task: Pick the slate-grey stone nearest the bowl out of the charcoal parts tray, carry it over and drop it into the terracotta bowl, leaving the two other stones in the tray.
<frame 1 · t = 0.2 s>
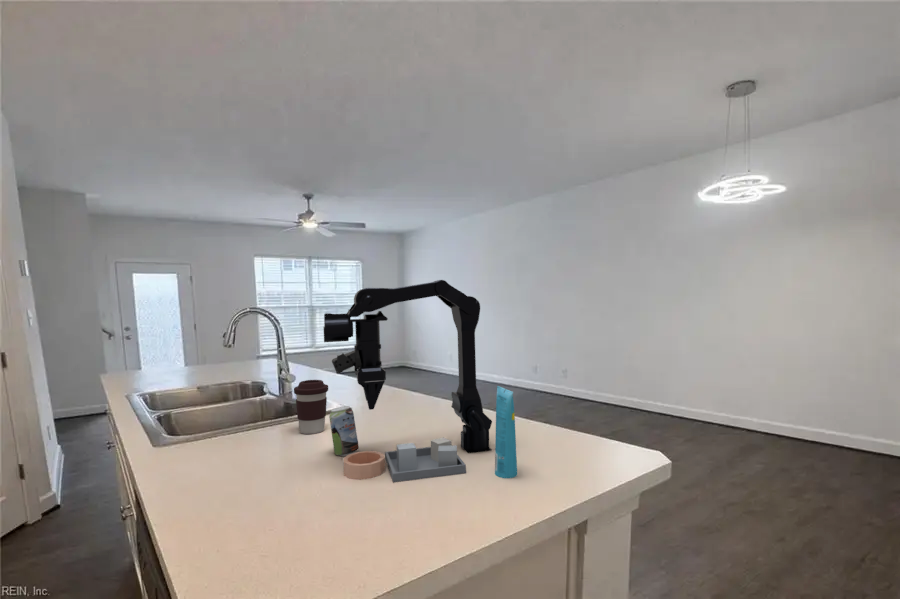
hand: (369, 404, 106), 14 cm above the counter, fingers open, 9 cm apart
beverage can: (344, 455, 112), on the counter
bowl: (364, 473, 100), on the counter
coffee cup: (312, 431, 133), on the counter
tube: (506, 476, 97), on the counter
tray: (423, 467, 102), on the counter
stone b: (441, 458, 106), resting on tray
stone c: (448, 468, 100), resting on tray
stone a: (406, 467, 101), resting on tray
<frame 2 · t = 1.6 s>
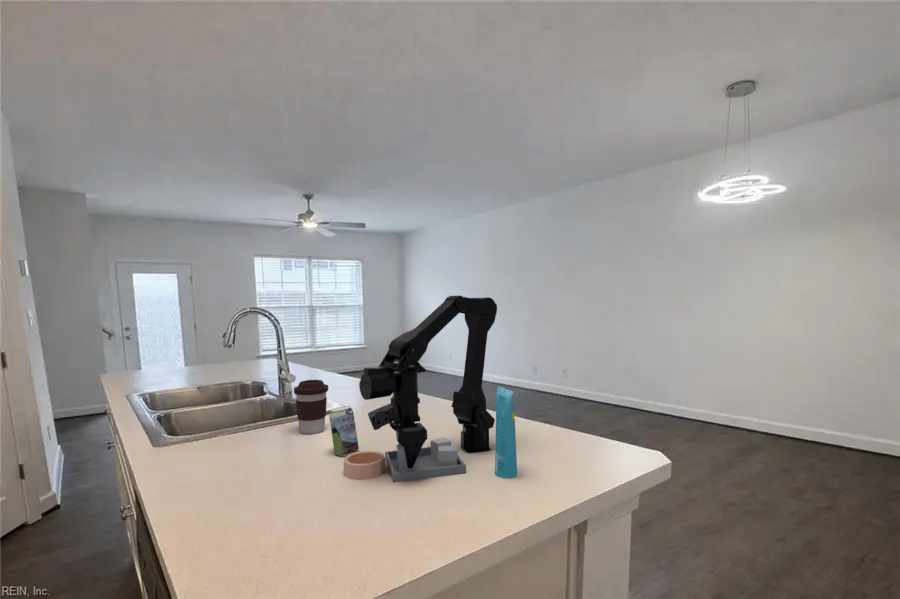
hand: (406, 461, 101), 2 cm above the counter, fingers open, 9 cm apart
nothing on the counter moved.
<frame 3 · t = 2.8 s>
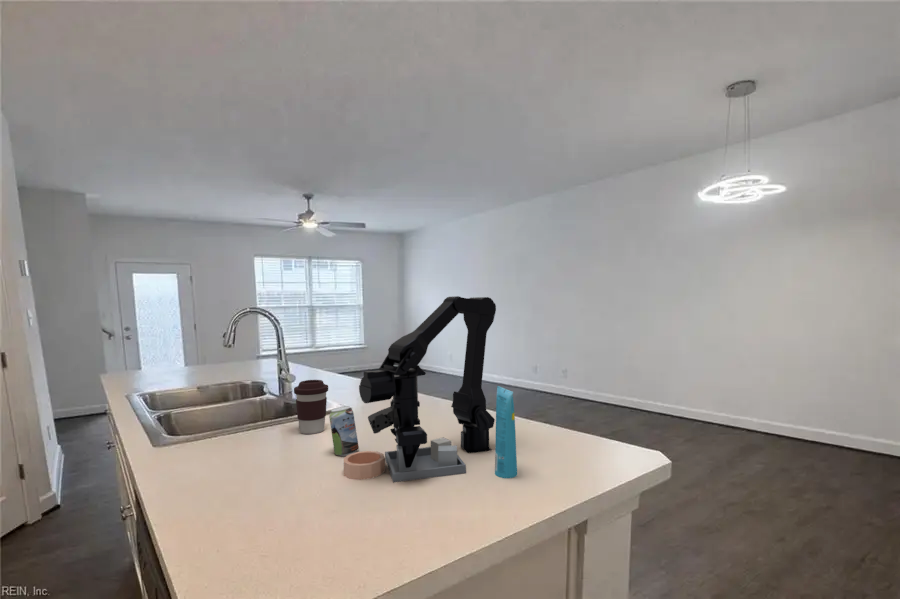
hand: (406, 464, 101), 1 cm above the counter, fingers closed on stone a, 4 cm apart
stone a: (406, 467, 101), resting on tray, touching gripper
everything else where it was.
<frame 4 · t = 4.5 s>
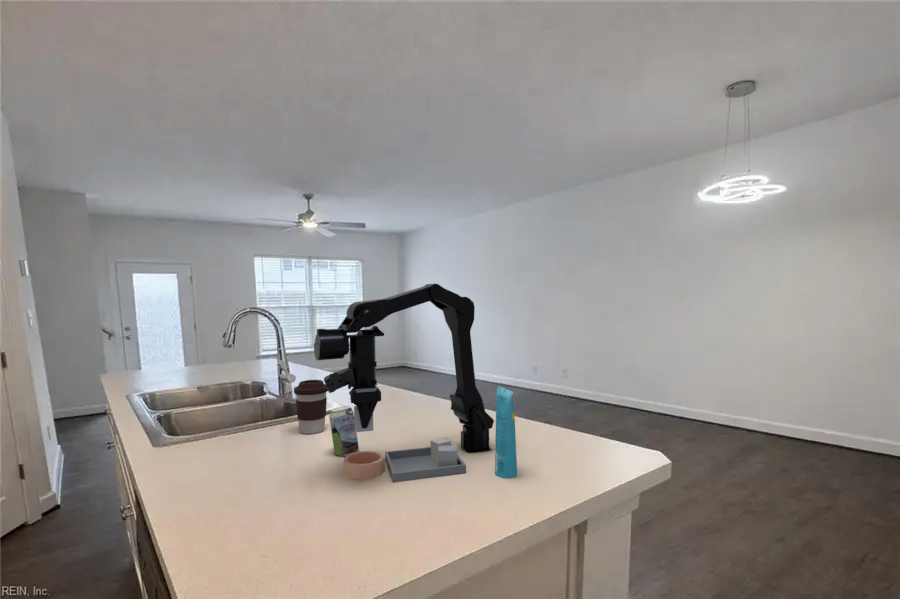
hand: (363, 425, 99), 11 cm above the counter, fingers closed on stone a, 4 cm apart
stone a: (363, 429, 99), point 10 cm above the counter, touching gripper
everything else where it was.
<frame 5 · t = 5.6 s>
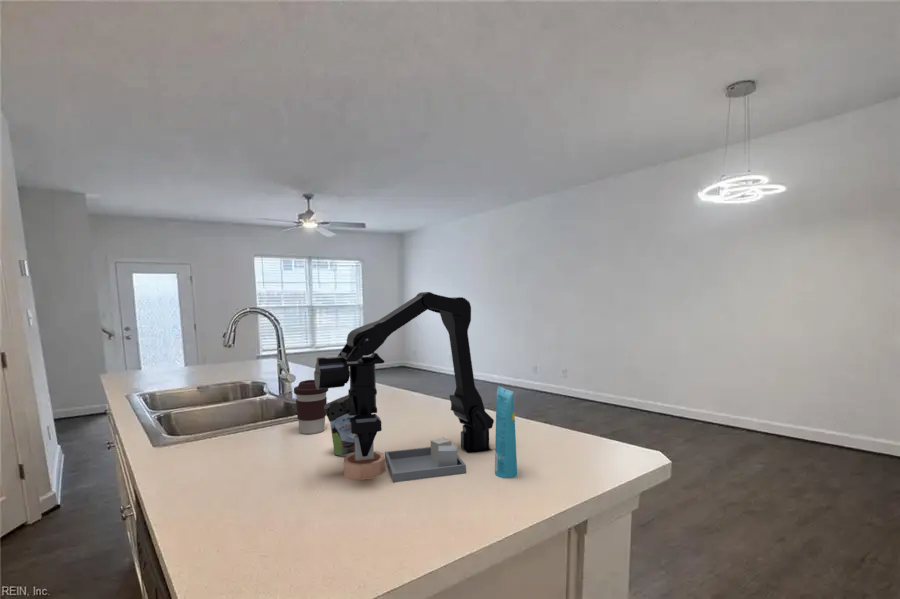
hand: (364, 453, 100), 5 cm above the counter, fingers closed on stone a, 4 cm apart
stone a: (364, 456, 100), point 4 cm above the counter, touching gripper
everything else where it was.
when the fingers open (4 cm above the counter, at t = 6.2 s): stone a drops 3 cm, resting on bowl.
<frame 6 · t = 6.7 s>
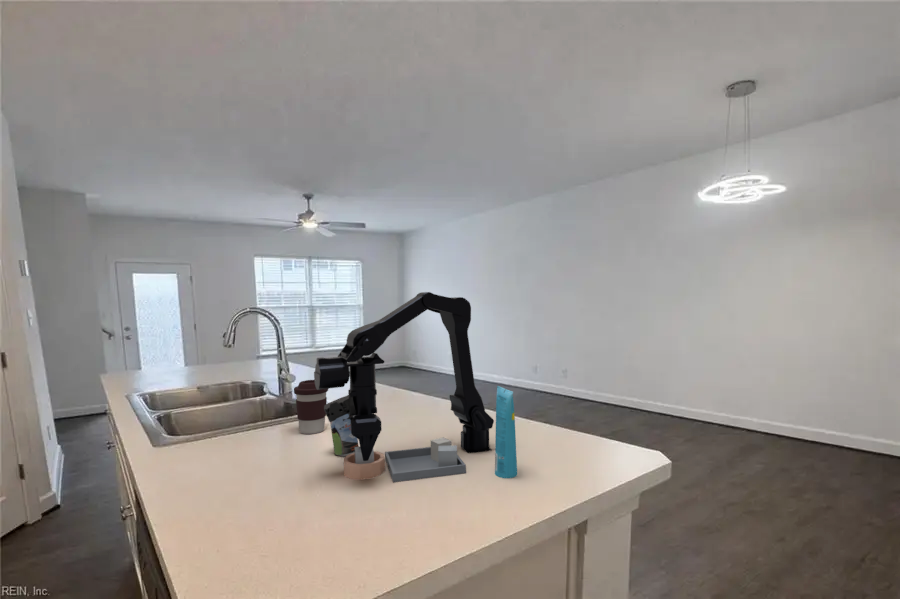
hand: (364, 453, 100), 4 cm above the counter, fingers open, 9 cm apart
stone a: (364, 470, 99), point 1 cm above the counter, touching bowl
everything else where it was.
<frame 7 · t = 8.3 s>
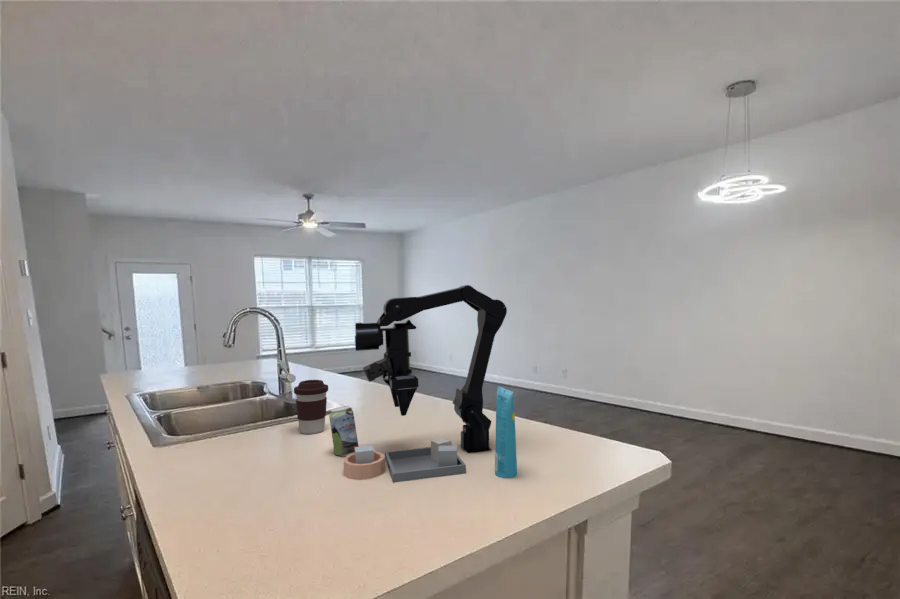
hand: (400, 410, 109), 12 cm above the counter, fingers open, 9 cm apart
nothing on the counter moved.
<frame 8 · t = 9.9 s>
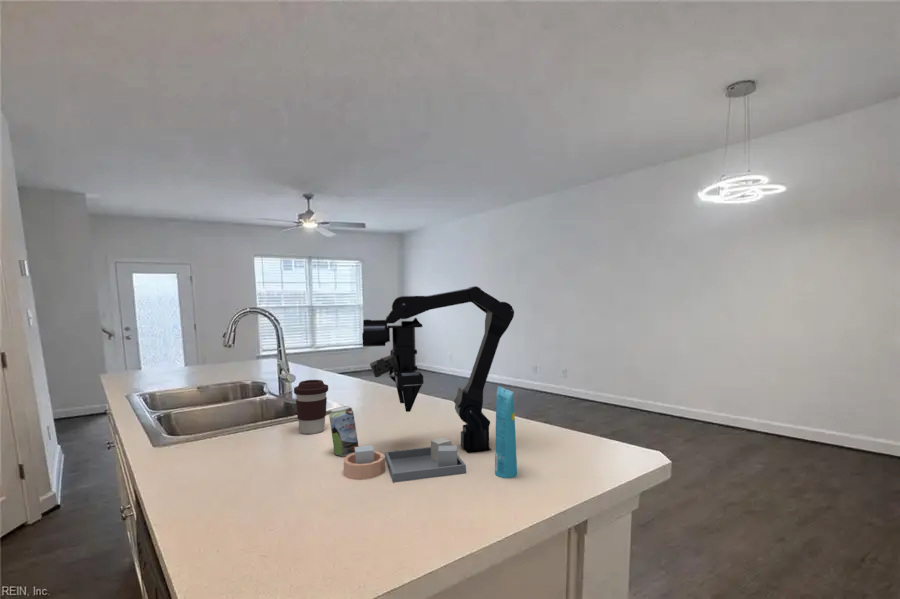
hand: (405, 407, 111), 12 cm above the counter, fingers open, 9 cm apart
nothing on the counter moved.
at the end: stone a inside the target area on the bowl (0.0 cm from its centre), point 0.6 cm above the bowl's base; the gripper is holding nothing; stone b inside the target area on the tray (5.9 cm from its centre), point 0.5 cm above the tray's base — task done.
